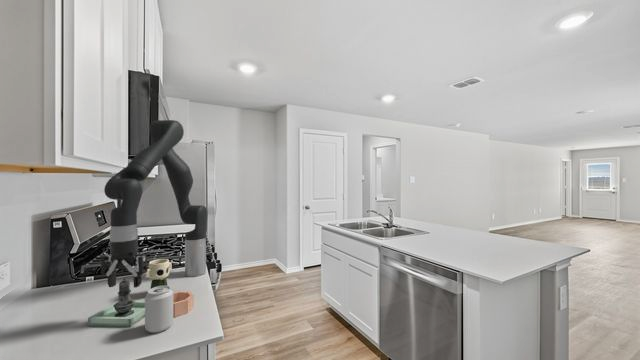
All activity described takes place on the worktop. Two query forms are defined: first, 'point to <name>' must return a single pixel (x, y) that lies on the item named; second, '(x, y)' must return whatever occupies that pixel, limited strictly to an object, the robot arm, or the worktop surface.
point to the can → (158, 309)
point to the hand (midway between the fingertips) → (124, 286)
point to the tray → (109, 319)
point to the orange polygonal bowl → (182, 303)
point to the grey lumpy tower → (124, 300)
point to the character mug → (158, 272)
